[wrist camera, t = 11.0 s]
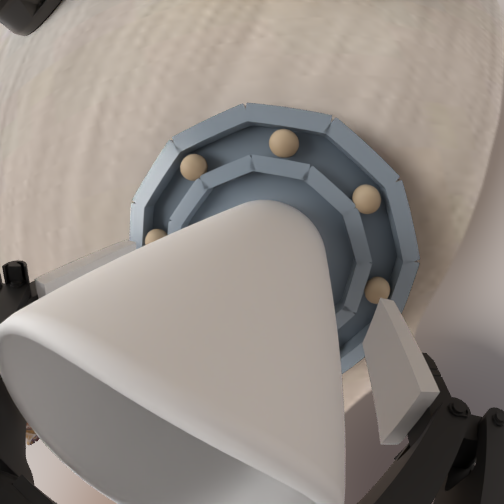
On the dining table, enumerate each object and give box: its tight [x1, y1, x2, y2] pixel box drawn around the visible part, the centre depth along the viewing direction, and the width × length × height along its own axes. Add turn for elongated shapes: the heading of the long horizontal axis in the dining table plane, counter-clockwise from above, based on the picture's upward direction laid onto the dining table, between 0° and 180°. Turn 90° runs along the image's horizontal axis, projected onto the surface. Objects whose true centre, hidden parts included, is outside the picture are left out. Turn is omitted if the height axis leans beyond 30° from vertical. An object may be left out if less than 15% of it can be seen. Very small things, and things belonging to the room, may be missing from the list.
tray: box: [130, 103, 420, 374], centre depth 18 cm, size 20×20×3 cm
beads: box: [145, 129, 390, 304], centre depth 18 cm, size 17×17×2 cm
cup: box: [0, 200, 345, 504], centre depth 11 cm, size 8×8×16 cm
